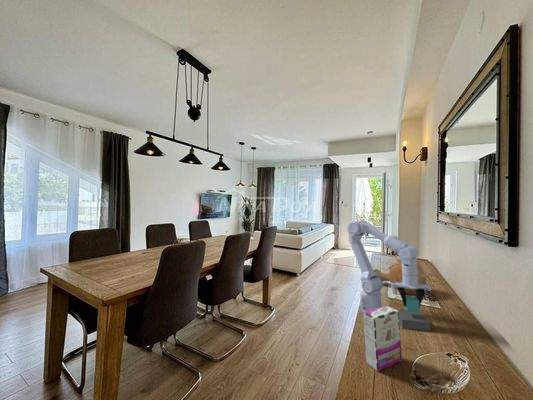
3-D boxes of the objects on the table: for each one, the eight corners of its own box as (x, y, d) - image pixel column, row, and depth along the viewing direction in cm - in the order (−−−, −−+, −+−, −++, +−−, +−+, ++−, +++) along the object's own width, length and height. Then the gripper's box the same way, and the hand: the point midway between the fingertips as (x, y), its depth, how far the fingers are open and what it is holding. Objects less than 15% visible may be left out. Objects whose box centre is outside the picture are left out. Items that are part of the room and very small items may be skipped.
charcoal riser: (402, 328, 95) (401, 319, 96) (396, 317, 105) (396, 309, 105) (430, 331, 92) (429, 322, 93) (422, 319, 102) (421, 311, 102)
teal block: (407, 311, 97) (406, 299, 98) (404, 307, 102) (403, 295, 102) (419, 312, 96) (418, 300, 96) (416, 308, 100) (415, 296, 100)
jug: (414, 280, 119) (362, 275, 144) (429, 305, 124) (376, 296, 148) (423, 252, 130) (373, 252, 154) (436, 276, 135) (386, 272, 159)
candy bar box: (388, 353, 80) (386, 304, 80) (402, 362, 75) (399, 310, 76) (364, 362, 75) (362, 311, 76) (377, 372, 70) (375, 317, 71)
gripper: (392, 275, 98) (394, 308, 97) (432, 277, 94) (435, 311, 93) (389, 271, 105) (391, 301, 104) (426, 273, 100) (428, 304, 100)
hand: (411, 306), depth 99 cm, fingers closed on teal block, 4 cm apart
